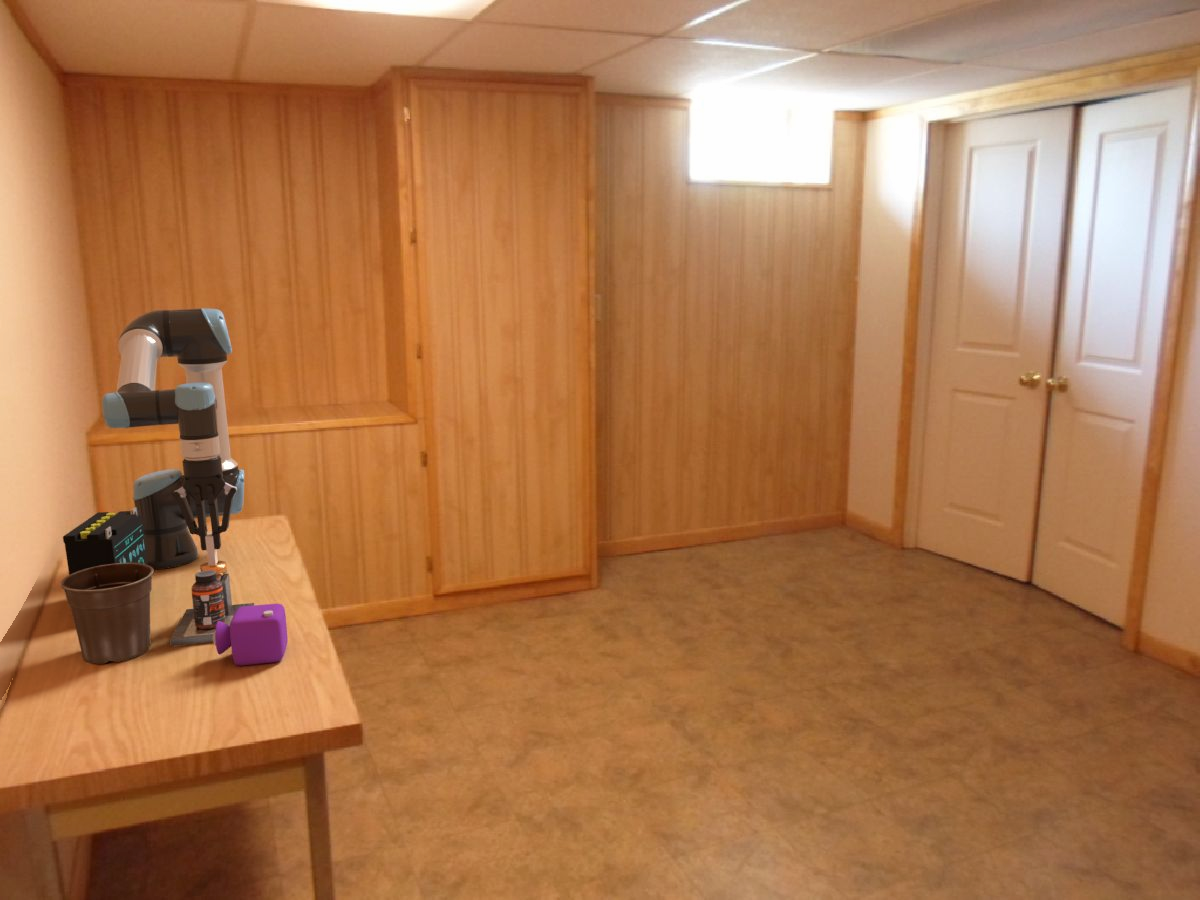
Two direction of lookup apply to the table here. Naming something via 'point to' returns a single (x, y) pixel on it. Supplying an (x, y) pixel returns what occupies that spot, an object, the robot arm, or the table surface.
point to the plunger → (216, 568)
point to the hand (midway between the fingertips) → (213, 563)
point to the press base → (194, 635)
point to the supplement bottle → (207, 600)
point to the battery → (106, 541)
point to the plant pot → (111, 610)
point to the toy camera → (254, 634)
